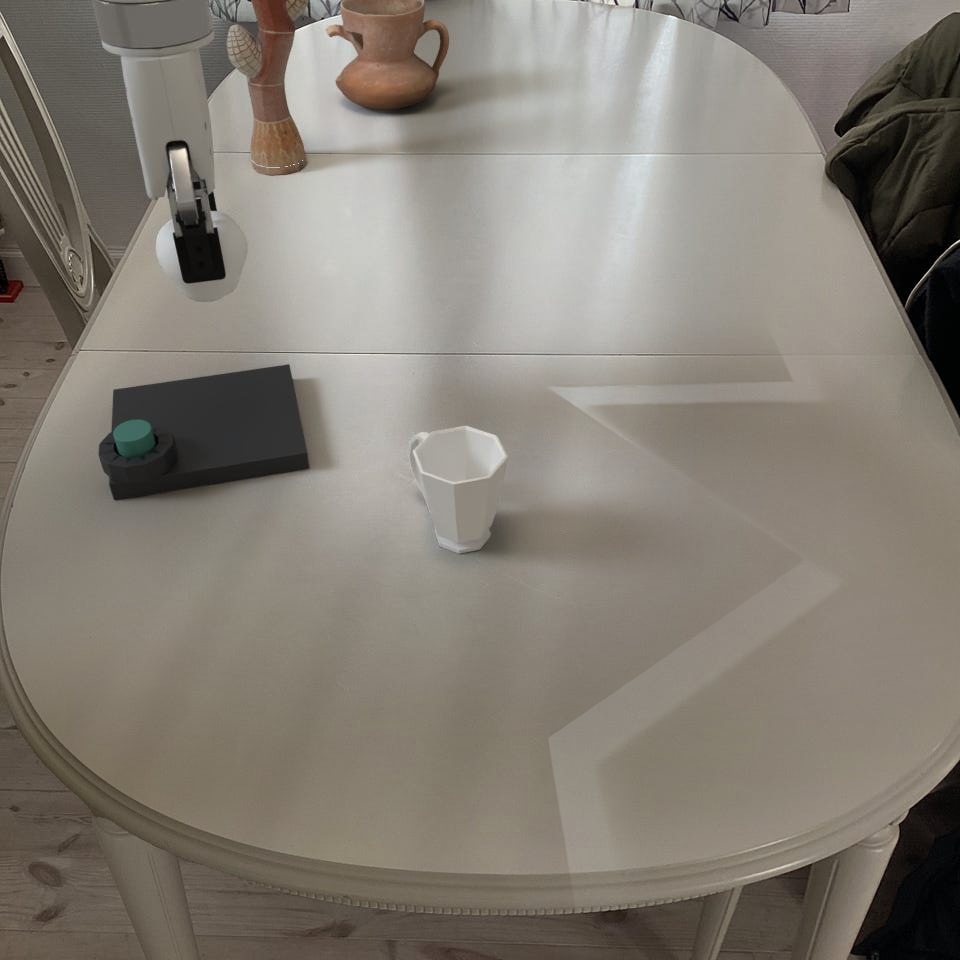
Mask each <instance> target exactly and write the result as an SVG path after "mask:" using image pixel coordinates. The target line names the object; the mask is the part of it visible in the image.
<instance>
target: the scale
mask: <svg viewBox="0 0 960 960" xmlns="http://www.w3.org/2000/svg"><path fill="white" fill-rule="evenodd" d="M111 409H112V412H111V431H110V432H109V433H108V434H107V435H106V436H105V437H104V438H103V439H102V440H101V441H100V442H99V444H98V458H99V461H100V464H101V468H102V470H103V473H104V474H105V475H106V476H108V479H109V480H108V486H109V489H110V492H111V495H112V498H113V501H116V500H124V499H129V498H135V497H141V496H148V495H155V494H161V493H167V492H172V491H178V490H185V489H191V488H196V487H203V486H209V485H214V484H215V485H216V484H220V483H221V484H222V483H227V482H228V483H229V482H233V481H234V482H235V481H240V480H246V479H252V478H259V477H264V476H270V475H277V474H282V473H289V472H295V471H300V470H307V469H310V463H309V456H308V450H307V445H306V440H305V435H304V430H303V425H302V420H301V414H300V410H299V405H298V400H297V395H296V390H295V385H294V380H293V376H292V370H291V365H290V363H288V364H281V365H275V366H267V367H261V368H253V369H247V370H239V371H233V372H225V373H219V374H218V373H217V374H213V375H204V376H198V377H191V378H183V379H177V380H176V379H175V380H170V381H163V382H157V383H149V384H142V385H136V386H129V387H128V386H127V387H121V388H115V389H113V390H112V407H111ZM130 420H144V421H146V422H148V423H149V424H150V425H151V428H152V431H153V435H154V439H155V443H156V445H155V448H154V449H153V450H152V451H150V452H148V453H146V454H144V455H142V456H138V457H131V458H129V457H124V456H122V455H120V454H119V452H118V449H117V446H116V442H115V439H114V436H113V432H114V430H115V428H116V427H117V426H118V425H120V424H122V423H124V422H126V421H130Z"/></svg>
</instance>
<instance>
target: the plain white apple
mask: <svg viewBox="0 0 960 960" xmlns="http://www.w3.org/2000/svg"><path fill="white" fill-rule="evenodd" d="M202 211H203V210H202ZM211 217H212V223H213V228H215V227H217V230H218V235H219V240H220V245H221V251H222V256H223V261H224V267H225V272H226V276H225V278H224V279H222V280H214V281H206V282H198V283H190V284H187V283H185V282H184V281H183V279H182V274H181V270H180V265H179V261H178V256H177V252H176V247H175V243H174V238H173V232H175V231H174V226H173V220H172V218H171V219H170V220H169V221H168V222H166V223H164V225H163V226H162V227H161V228H160V230H159V231H158V233H157V236H156V242H155V253H156V258H157V261H158V263H159V266H160V268H161V270H162V271H163V272H164V274H166V276H167V277H168V279H169V280H170V281H171V282H172V283H173V285H174V286H175V287H176V288H177V289H178V290H179V292H180V293H181V294H182V295H183V296H185V297H186V298H188V299H190V300H191V301H194V302H197V303H209V302H210V303H211V302H216V301H219V300H221V299H223V298H224V297H225V296H228V295H230V294H232V293H233V292H234V291H235V290H236V289H237V287H238V284H239V281H240V279H241V276H242V273H243V269H244V266H245V264H246V262H247V261H246V260H247V257H248V250H249V244H248V240H247V238H246V235H245V232H244V231H243V229H242V228H241V226H240V225H239V224H238V223H237V221H236V220H235V219H234V218H233V217H232V216H230V215H229V214H227V213H226V212H224V211H219V210H217V211H211Z"/></svg>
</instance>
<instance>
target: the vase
mask: <svg viewBox="0 0 960 960" xmlns="http://www.w3.org/2000/svg"><path fill="white" fill-rule="evenodd" d="M250 1H251V5H252V8H253V12H254V15H255V18H256V22H257V26H258V29H257V36H256V37H255V36H254V35H253V34H251V33H250V32H249V31H248V30H247V29H246V28H245V27H243V26H242V25H240V24H237V23H236V24H233V25H231V26H230V27H229V29H228V32H227V38H226V49H227V56H228V59H229V61H230V63H231V65H232V66H233V67H234V68H235V69H236V70H237V71H238V72H239V73H241V74H242V75H244V76H245V77H246V81H247V89H248V93H249V98H250V102H251V107H252V115H253V126H252V127H253V128H252V134H251V140H250V162H251V167H252V168H253V169H254V170H255V171H256V172H257V173H259V174H262V175H263V174H264V175H268V176H280V175H281V176H282V175H288V174H289V175H290V174H293V173H296V172H301V170H302V169H303V168H305V167H306V166H307V164H308V163H307V153H306V149H305V144H304V142H303V139H302V137H301V134H300V131H299V129H298V127H297V125H296V123H295V121H294V119H293V117H292V115H291V113H290V109H289V106H288V105H289V104H288V100H287V94H286V86H285V85H286V83H285V79H286V72H287V67H288V62H289V59H290V55H291V51H292V48H293V45H294V40H295V34H296V25H295V21H296V20H297V19H298V18H299V17H300V16H301V15H303V14H304V12H305V11H306V9H307V8H308V6H309V0H250ZM251 159H252V160H253V161H254V162H255V163H256V164H257V165H262V166H265V167H261V166H257V165H256V164H255V163H253V162H252V161H251ZM302 160H303V161H302ZM298 163H299V164H298ZM293 164H295V165H293ZM290 165H291V166H290ZM285 166H288V167H285ZM266 167H280V168H266Z"/></svg>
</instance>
